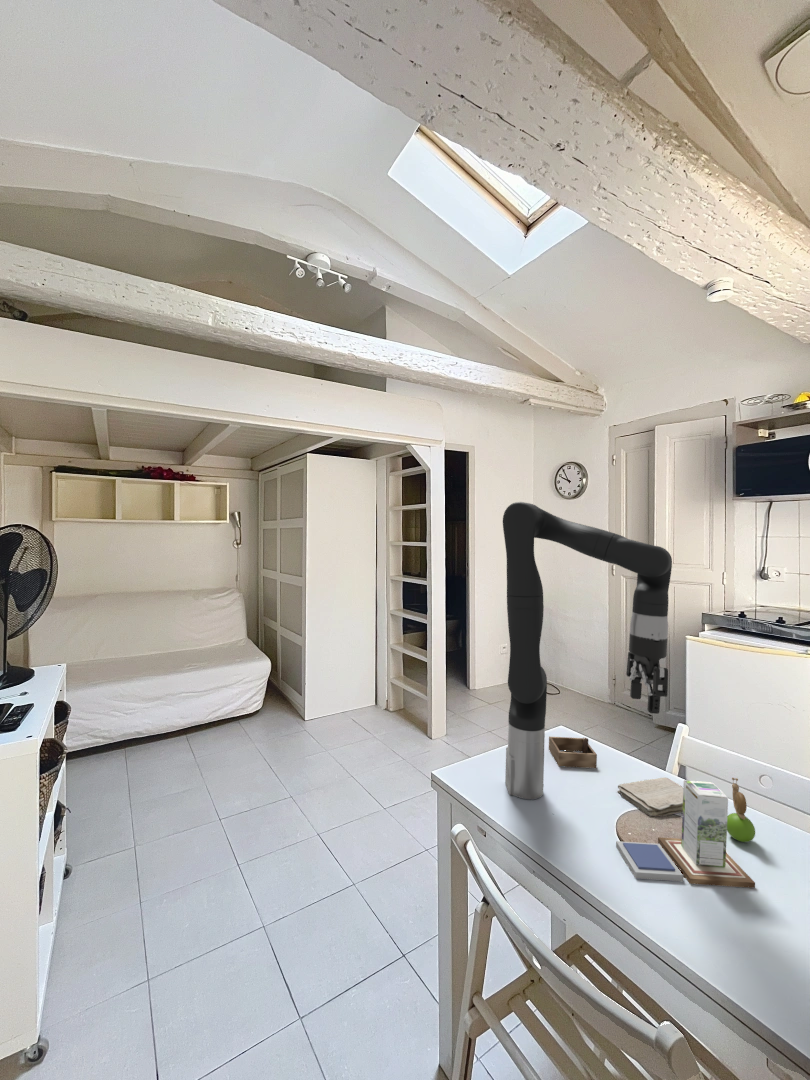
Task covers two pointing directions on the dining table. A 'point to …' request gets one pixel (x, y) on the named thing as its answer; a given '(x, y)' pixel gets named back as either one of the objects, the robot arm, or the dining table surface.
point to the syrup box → (704, 823)
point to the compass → (584, 747)
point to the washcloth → (654, 796)
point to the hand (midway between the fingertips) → (644, 705)
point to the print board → (705, 868)
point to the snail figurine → (739, 818)
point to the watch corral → (570, 757)
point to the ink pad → (648, 861)
